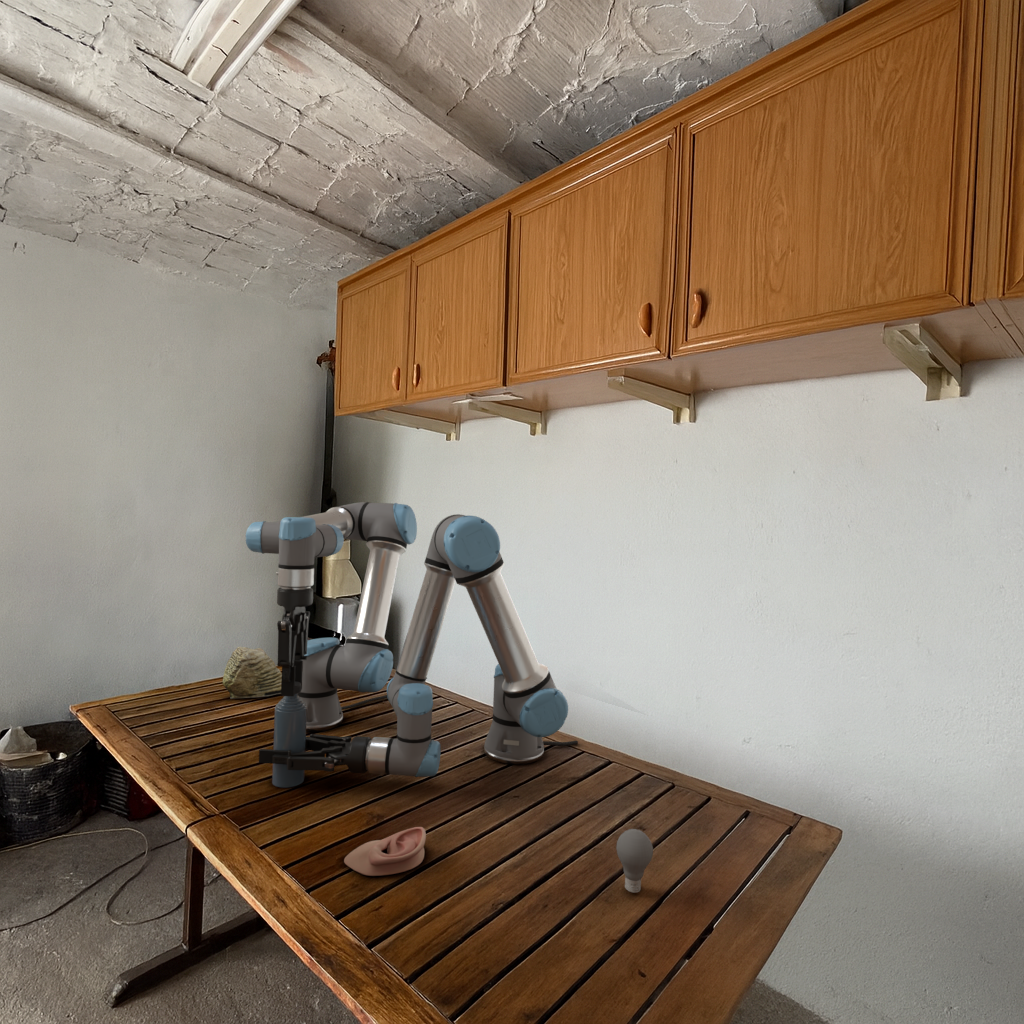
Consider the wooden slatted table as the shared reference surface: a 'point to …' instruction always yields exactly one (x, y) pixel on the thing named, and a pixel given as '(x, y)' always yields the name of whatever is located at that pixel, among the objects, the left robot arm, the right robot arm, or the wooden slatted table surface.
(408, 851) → the anatomical model
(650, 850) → the light bulb
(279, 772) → the bottle
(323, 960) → the wooden slatted table surface
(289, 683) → the left robot arm
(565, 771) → the wooden slatted table surface
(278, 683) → the fossil
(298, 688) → the cap
